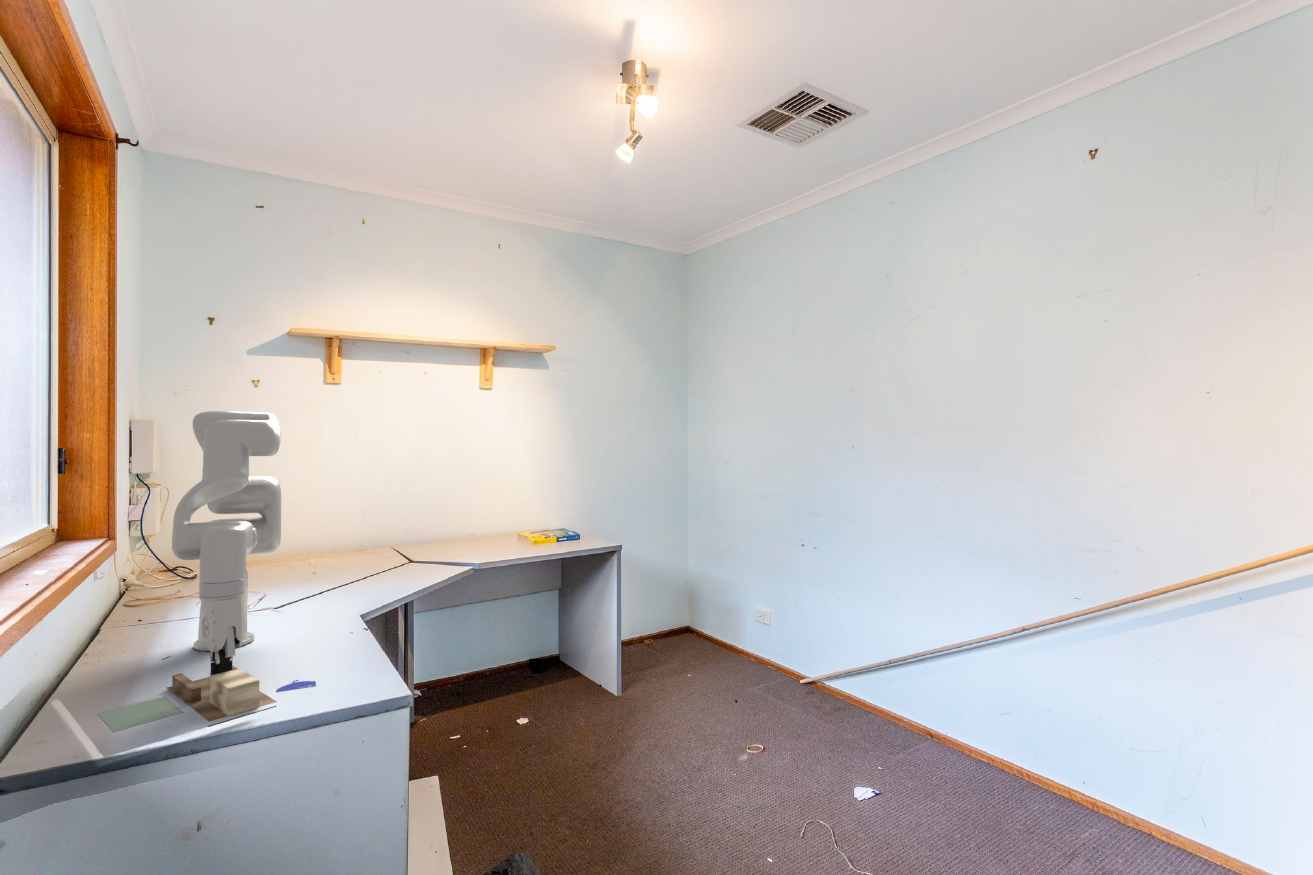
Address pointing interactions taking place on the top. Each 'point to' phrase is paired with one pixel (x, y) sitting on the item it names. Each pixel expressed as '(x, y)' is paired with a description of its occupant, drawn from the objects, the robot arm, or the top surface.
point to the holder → (204, 696)
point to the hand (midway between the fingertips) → (221, 681)
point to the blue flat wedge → (297, 685)
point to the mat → (139, 713)
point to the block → (234, 691)
